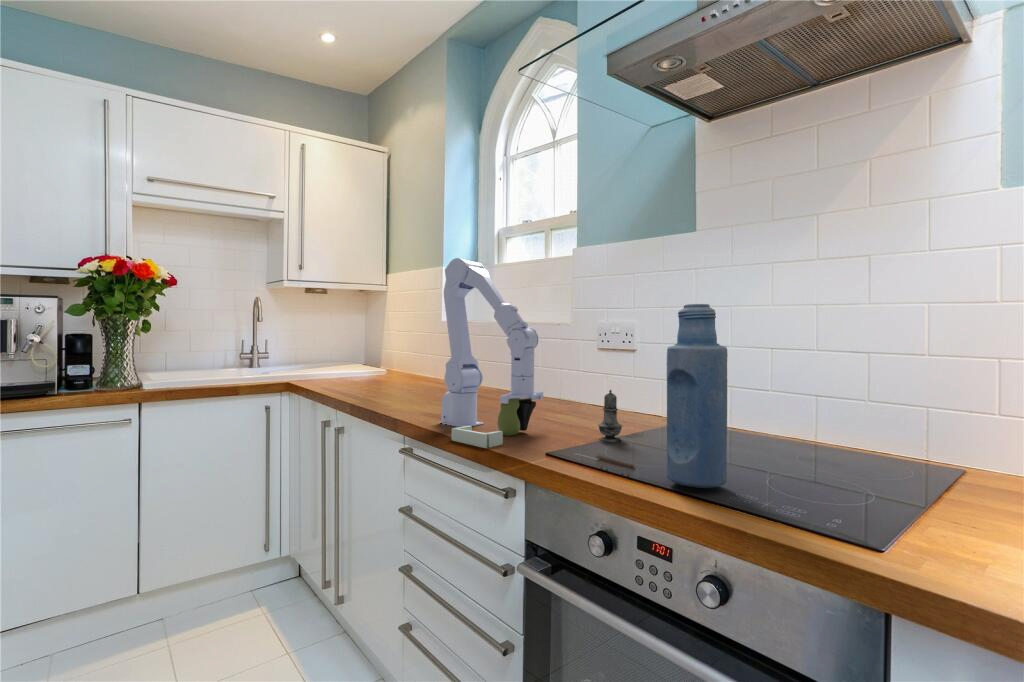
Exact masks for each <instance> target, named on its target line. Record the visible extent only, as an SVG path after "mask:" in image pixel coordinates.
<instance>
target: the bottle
mask: <svg viewBox="0 0 1024 682" xmlns="http://www.w3.org/2000/svg"><path fill="white" fill-rule="evenodd" d="M677 317H678V330H677V331H678V332H677V336H676V340H677V341H676V343H675V344H674V345H670V346H668V347H667V350H666V478H667V479H668V480H669V481H670V482H672V483H674V484H677V485H681V486H685V487H693V488H697V489H698V488H700V489H701V488H702V489H703V488H704V489H708V488H718V487H722V486H724V485H725V484H727V478H728V476H727V473H728V471H727V467H728V466H727V465H728V463H727V462H728V460H727V454H728V453H727V448H728V447H727V446H728V444H727V443H728V442H727V441H728V440H727V439H728V438H727V437H728V356H729V355H728V348H727V346H724V345H720V343H718V338H717V337H718V335H717V330H716V318H717V316H716V311H715V308H712V307H711V306H710V304H709V303H691V304H690V303H689V304H688V303H687V304H684V305H683V308H681V309H680V310H679V311H677Z"/></svg>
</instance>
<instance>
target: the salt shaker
mask: <svg viewBox="0 0 1024 682" xmlns="http://www.w3.org/2000/svg"><path fill="white" fill-rule="evenodd" d="M603 397H604V399H603V400H604V401H603V404H604V407H602V410H603V419H602V422H601V423H598V424H597V426H598V430H599V433H600V434H601V435H603V436H601V437H600V438H598V440H599V441H601V442H605V443H618V442H621V441H622V439H621V438H620V437H619V434H620V433H621V431H622V428H623V424H621V423H619V422H618V421H619V420H618V411H619V408H618V407H617V401H618V399H617V397H618V396H617V395H616V394H614V393H613V392H612V389H610V390H609V391H608V393H606V394H605V395H604V396H603ZM617 436H618V437H617Z"/></svg>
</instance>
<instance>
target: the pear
mask: <svg viewBox="0 0 1024 682" xmlns="http://www.w3.org/2000/svg"><path fill="white" fill-rule="evenodd" d="M518 408H519V399H517V398H514V399H509V403H508V404H504V403H500V411H499V412H498V415H497V428H498V431H503V437H504V436H506V437H514V436H516V435H518V433H519V431H521V430H520V421H519V418H518V416H517V409H518Z"/></svg>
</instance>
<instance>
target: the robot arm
mask: <svg viewBox="0 0 1024 682" xmlns="http://www.w3.org/2000/svg"><path fill="white" fill-rule="evenodd" d="M489 273H490V272H489V271H488V270H487V269H486V268H485V266H484V265H483V264H482V262H481V263H480V262H478V261H471V260H467V259H462V258H460V257H454V258H453V259H452V260H450V262H449V263H448V264H447V266H446V267H445V268H444V275H445V283H444V288H443V300H444V301H443V302H444V309H445V317H446V324H447V325H446V326H447V334H448V339H449V341H448V342H449V347H450V348H449V350H450V358H449V359H448V361H447V362H446V363H445V372H444V373H445V374H444V378H443V379H444V384H445V386H446V388H447V389H448V391H446V392H445V393H444V395H443V396H442V398H441V421H439V422H438V423H439V424H440V423H442V424H441V425H445V424H447V425H446V426H450V425H451V427H455V428H457V427H464V426H472V427H474V426H481V425H484V424H485V423H484V422H482V421H478V420H477V419H478V391H479V387H481V385H482V384H483V373H482V371H481V369H480V366H479V362H478V360H477V359H476V357H474V355H473V353H472V348H471V347H472V346H471V340H470V332H469V324H468V315H467V308H466V301H465V298H466V297H467V295H468V294H469V293H470V292H471V291H473V290H474V289H477V290H478V291H479V293H481V295H482V296H483V297H484V300H486V301H487V303H488V304H489V305H490V306H491V308H492V309H493V310H494V312H493V313H494V314H493V319H495V321H496V322H497V324H498V326H499V327H500V329H501V330H502V332H503V333H504V334H505V335H506V337H507V339H506V344H507V346H508V347H509V350H510V356H511V357H510V358H511V359H510V360H511V361H510V363H511V364H510V366H511V368H510V371H511V372H510V374H511V375H510V376H511V377H510V393H505V394H501V395H499V404H501V403H504V404H508V403H509V399H514V398H517V399H519V408H518V409H517V416H518V418H519V421H520V430H519V431H522V432H523V431H524V432H525V431H527V430H528V427H529V422H530V419H531V416H532V413H533V412H534V409H535V407H536V406H537V402H536V401H535V400H543V399H544V391H541V390H540V391H538V390H537V391H535V390H534V389H535V348H537V346H538V344H539V334H538V333H537V330H536V329H535V328H533V327H528V325H529V324H528V322H527V321H524V319H523V317H522V316H521V315H520V314H519V313H518V311H519V308H518V307H517V306H514V305H513V304H511V303H506V301H505V300H504V298H503V296H502V295H501V294H500V292H499V290H498V289H497V287H496V285H495V284H494V282H493V280H492V279H491V277H490V274H489Z"/></svg>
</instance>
